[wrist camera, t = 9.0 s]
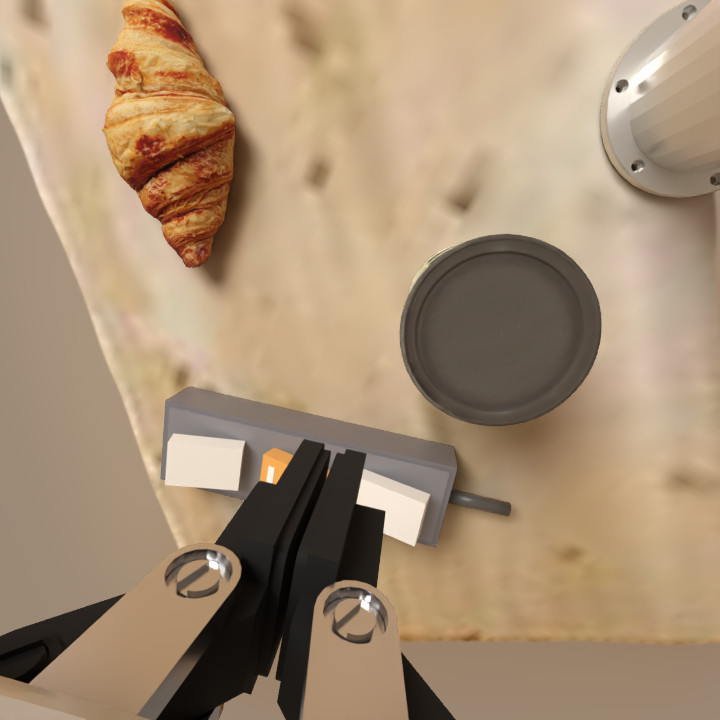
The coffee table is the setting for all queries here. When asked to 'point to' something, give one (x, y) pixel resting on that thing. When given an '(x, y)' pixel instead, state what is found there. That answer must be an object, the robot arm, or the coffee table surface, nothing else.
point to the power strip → (289, 428)
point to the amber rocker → (275, 465)
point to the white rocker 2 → (395, 505)
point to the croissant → (170, 128)
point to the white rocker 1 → (204, 462)
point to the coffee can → (499, 329)
